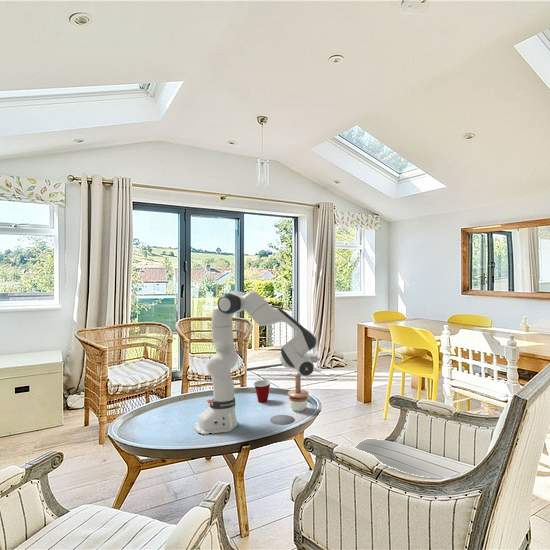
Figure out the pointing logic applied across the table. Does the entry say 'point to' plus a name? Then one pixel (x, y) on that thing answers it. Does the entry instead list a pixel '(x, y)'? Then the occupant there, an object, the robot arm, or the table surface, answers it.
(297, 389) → the lid
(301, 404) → the lidded jar
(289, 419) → the coaster
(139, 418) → the table surface
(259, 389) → the plastic cup
